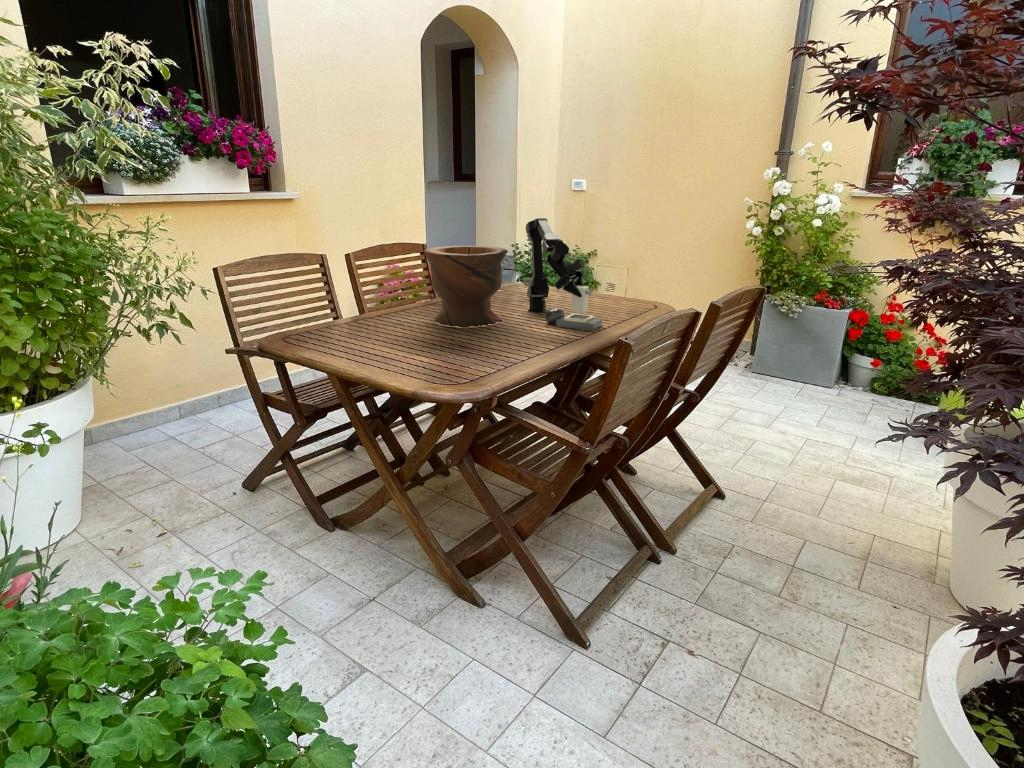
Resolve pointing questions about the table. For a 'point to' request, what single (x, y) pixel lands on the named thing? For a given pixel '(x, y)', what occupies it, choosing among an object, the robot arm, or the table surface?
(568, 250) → the robot arm
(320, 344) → the table surface
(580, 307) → the cream block
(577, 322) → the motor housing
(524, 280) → the mechanical component
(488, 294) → the wooden planter
